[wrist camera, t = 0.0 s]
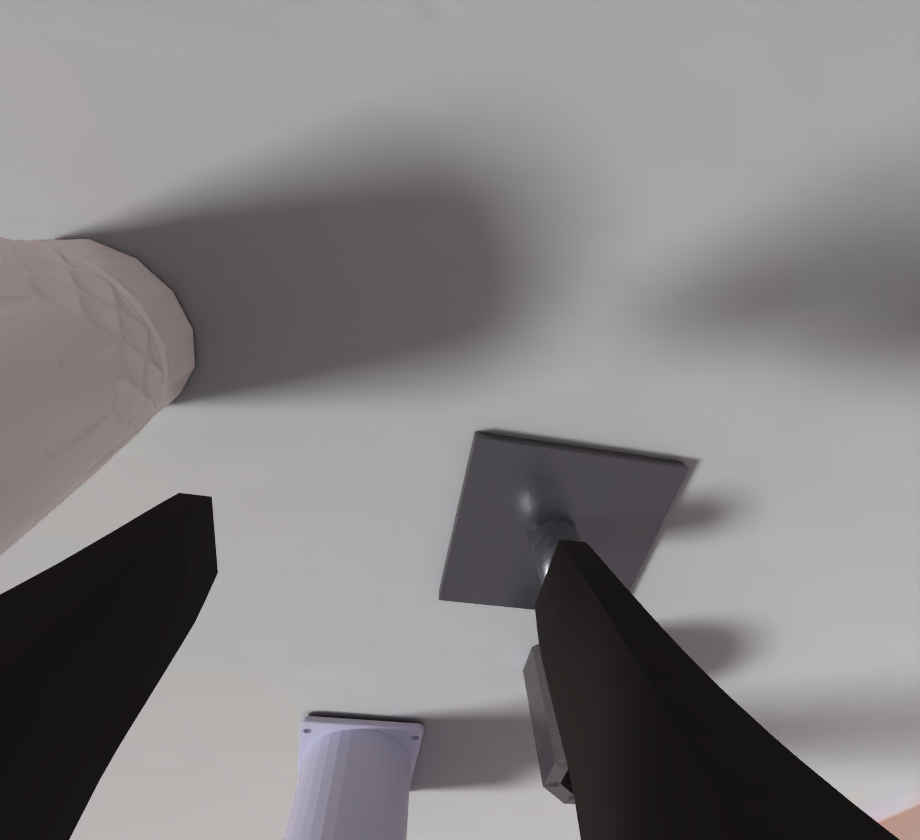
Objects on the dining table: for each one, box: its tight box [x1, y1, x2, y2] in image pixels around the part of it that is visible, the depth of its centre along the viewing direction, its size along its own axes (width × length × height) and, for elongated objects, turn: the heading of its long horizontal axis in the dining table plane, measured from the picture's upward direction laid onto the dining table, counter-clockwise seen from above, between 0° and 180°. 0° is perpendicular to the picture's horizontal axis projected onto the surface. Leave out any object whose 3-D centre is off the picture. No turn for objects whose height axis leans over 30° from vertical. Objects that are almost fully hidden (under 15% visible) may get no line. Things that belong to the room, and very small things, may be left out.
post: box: [439, 432, 688, 610], centre depth 20 cm, size 10×10×6 cm
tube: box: [523, 645, 575, 804], centre depth 24 cm, size 5×5×6 cm
